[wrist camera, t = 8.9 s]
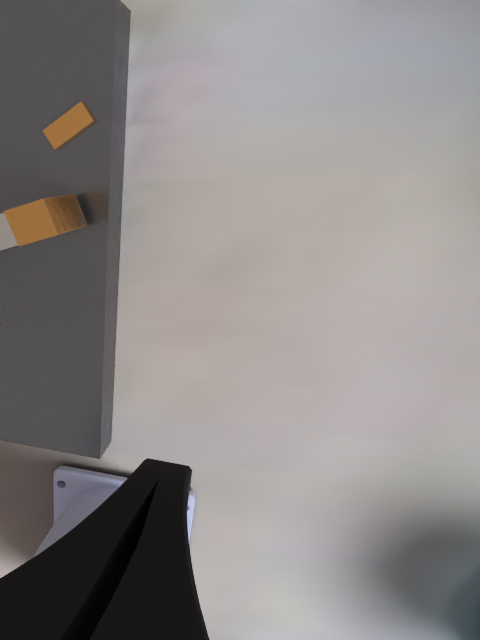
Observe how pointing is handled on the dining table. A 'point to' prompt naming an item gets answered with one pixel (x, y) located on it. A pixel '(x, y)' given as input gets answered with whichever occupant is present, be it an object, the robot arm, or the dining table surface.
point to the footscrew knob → (40, 220)
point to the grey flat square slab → (71, 247)
